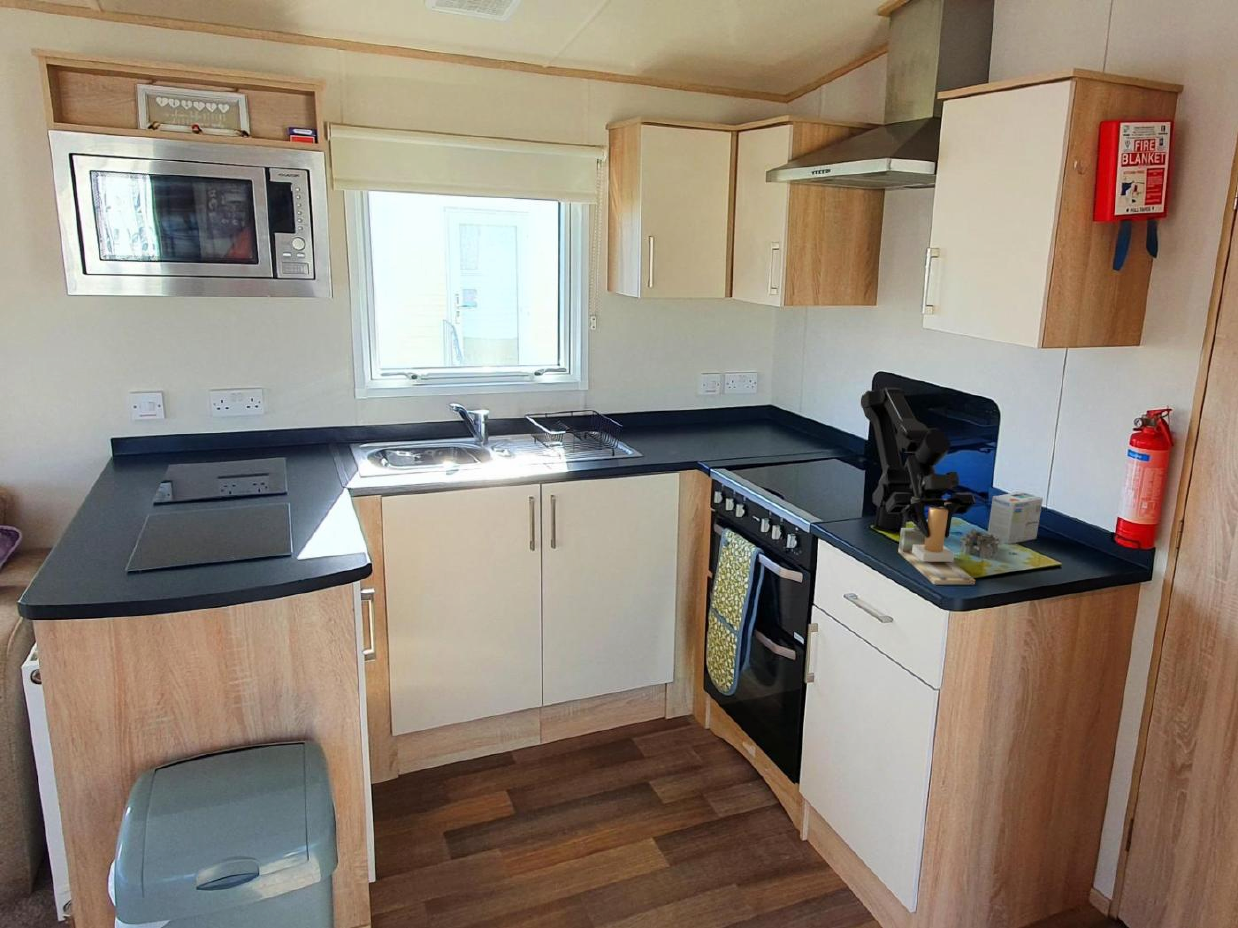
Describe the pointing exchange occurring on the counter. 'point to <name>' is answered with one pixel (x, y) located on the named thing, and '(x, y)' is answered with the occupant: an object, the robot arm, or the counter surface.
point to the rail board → (930, 570)
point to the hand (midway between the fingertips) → (937, 537)
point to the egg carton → (979, 543)
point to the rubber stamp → (935, 538)
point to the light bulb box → (1015, 517)
